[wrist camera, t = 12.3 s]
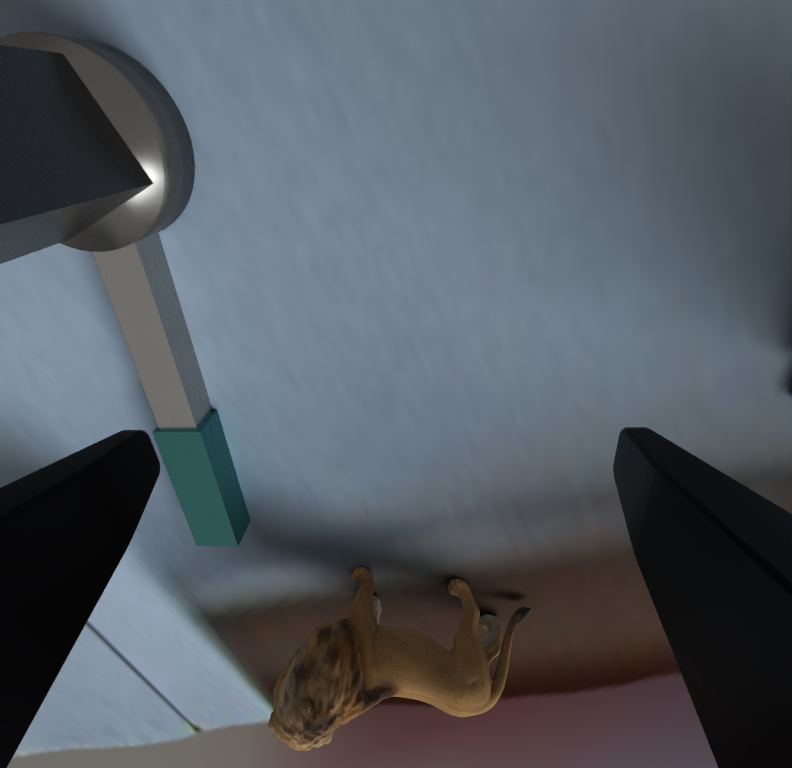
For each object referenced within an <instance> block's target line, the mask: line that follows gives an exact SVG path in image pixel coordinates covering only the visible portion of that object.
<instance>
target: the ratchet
mask: <svg viewBox="0 0 792 768" xmlns="http://www.w3.org/2000/svg"><path fill="white" fill-rule="evenodd" d="M0 45H5V46H12V47H19V48H27V49H34V50H42V51H49V52H56V53H63V54H64V55H65V57H66V58H67V60H68V61H69V63H70V64H71V66H72V67H73V68H74V70H75V71H76V73H77V74H78V76H79V77H80V78H81V80H82V81H83V83H84V84H85V86H86V87H87V88H88V90H89V91H90V93H91V94H92V96H93V97H94V99H95V100H96V101H97V103H98V104H99V106H100V107H101V109H102V110H103V111H104V113H105V114H106V116H107V117H108V119H109V120H110V122H111V123H112V124H113V126H114V127H115V129H116V130H117V132H118V133H119V134H120V136H121V137H122V139H123V140H124V142H125V143H126V144H127V146H128V147H129V149H130V150H131V152H132V153H133V155H134V156H135V157H136V159H137V160H138V162H139V163H140V165H141V166H142V167H143V169H144V170H145V172H146V173H147V175H148V176H149V178H150V179H151V180H152V182H153V183H154V184H152V185H151V186H149V187H148V188H146V189H145V190H143V191H142V192H140V193H139V194H137V195H136V196H134V197H133V198H131V199H130V200H128V201H127V202H125V203H124V204H122V205H121V206H119V207H118V208H116V209H115V210H113V211H112V212H110V213H109V214H107V215H106V216H104V217H103V218H101V219H100V220H98V221H97V222H95V223H94V224H92V225H91V226H89V227H88V228H86V229H85V230H83V231H82V232H80V233H79V234H77V235H76V236H74V237H73V238H71V239H69V240H66V241H63V242H61V244H64V245H66V246H68V247H72V248H76V249H79V250H85V251H91V252H92V254H93V256H94V259H95V262H96V264H97V267H98V270H99V272H100V275H101V278H102V280H103V283H104V285H105V288H106V291H107V293H108V296H109V299H110V301H111V304H112V307H113V309H114V312H115V314H116V317H117V320H118V322H119V325H120V328H121V330H122V333H123V336H124V338H125V341H126V343H127V346H128V349H129V351H130V354H131V357H132V359H133V362H134V364H135V367H136V370H137V372H138V375H139V378H140V380H141V383H142V386H143V388H144V391H145V393H146V396H147V399H148V401H149V404H150V407H151V409H152V412H153V415H154V417H155V420H156V422H157V425H158V427H157V428H156V429H155V430H154V431H153V435H154V437H155V440H156V442H157V445H158V448H159V450H160V453H161V455H162V458H163V460H164V463H165V466H166V468H167V471H168V473H169V476H170V478H171V481H172V484H173V486H174V489H175V491H176V494H177V496H178V499H179V502H180V504H181V507H182V509H183V512H184V514H185V517H186V520H187V522H188V525H189V527H190V530H191V532H192V535H193V537H194V540H195V543H196V545H198V546H237V547H238V545H239V543H240V541H241V539H242V537H243V535H244V533H245V531H246V529H247V526H248V524H249V522H250V518H249V515H248V511H247V508H246V505H245V501H244V498H243V495H242V491H241V488H240V485H239V481H238V478H237V475H236V471H235V468H234V465H233V461H232V458H231V455H230V451H229V448H228V445H227V441H226V438H225V435H224V431H223V428H222V425H221V421H220V418H219V415H218V411H217V410H212V406H211V403H210V400H209V397H208V393H207V390H206V387H205V384H204V380H203V377H202V374H201V370H200V367H199V364H198V361H197V357H196V354H195V351H194V348H193V344H192V341H191V338H190V334H189V331H188V328H187V325H186V321H185V318H184V315H183V312H182V308H181V305H180V302H179V298H178V295H177V292H176V289H175V285H174V282H173V279H172V276H171V272H170V269H169V266H168V262H167V259H166V256H165V253H164V249H163V246H162V243H161V240H160V236H159V233H158V232H159V231H162V230H164V229H165V228H167V227H168V226H170V225H171V224H172V223H173V222H174V221H175V220H176V219H177V218H178V217H179V216H180V215H181V213H182V212H183V211H184V209H185V207H186V205H187V203H188V201H189V199H190V196H191V193H192V189H193V184H194V175H195V163H194V153H193V147H192V142H191V139H190V135H189V132H188V129H187V126H186V124H185V122H184V119H183V117H182V115H181V113H180V111H179V109H178V107H177V106H176V104H175V102H174V101H173V99H172V98H171V96H170V95H169V93H168V92H167V90H166V89H165V88H164V87H163V86H162V84H161V83H160V82H159V81H158V80H157V79H156V78H155V77H154V76H153V75H152V74H151V73H150V72H149V71H148V70H147V69H146V68H145V67H144V66H142V65H141V64H140V63H139V62H137V61H136V60H135V59H133V58H131V57H130V56H128V55H126V54H125V53H123V52H121V51H119V50H117V49H115V48H112V47H110V46H107V45H104V44H100V43H96V42H91V41H85V40H79V39H74V38H68V37H63V36H57V35H52V34H45V33H39V32H20V33H15V34H10V35H7V36H5V37H3V38H0Z"/></svg>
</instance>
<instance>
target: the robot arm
mask: <svg viewBox="0 0 792 768" xmlns="http://www.w3.org/2000/svg"><path fill="white" fill-rule="evenodd" d="M613 472H614V478H615V482H616V486H617V490H618V494H619V498H620V501H621V505H622V509H623V513H624V517H625V521H626V525H627V528H628V532H629V536H630V540H631V543H632V547H633V550H634V554H635V556H636V559H637V562H638V565H639V567H640V570H641V572H642V575H643V578H644V580H645V583H646V585H647V588H648V590H649V593H650V595H651V598H652V600H653V603H654V605H655V608H656V611H657V613H658V616H659V618H660V621H661V623H662V626H663V628H664V631H665V633H666V636H667V639H668V641H669V644H670V646H671V649H672V651H673V654H674V656H675V659H676V661H677V664H678V666H679V669H680V672H681V674H682V677H683V679H684V681H685V684H686V687H687V689H688V692H689V694H690V697H691V699H692V702H693V705H694V707H695V710H696V712H697V715H698V717H699V720H700V722H701V725H702V727H703V730H704V732H705V735H706V737H707V740H708V743H709V745H710V748H711V750H712V753H713V755H714V758H715V760H716V763H717V766H718V768H792V514H791V513H789V512H788V511H786V510H784V509H783V508H781V507H779V506H778V505H776V504H774V503H773V502H771V501H769V500H768V499H766V498H764V497H763V496H761V495H759V494H758V493H756V492H754V491H753V490H751V489H749V488H748V487H746V486H744V485H743V484H741V483H739V482H738V481H736V480H734V479H733V478H731V477H729V476H728V475H726V474H724V473H723V472H721V471H719V470H717V469H716V468H714V467H712V466H711V465H709V464H707V463H706V462H704V461H702V460H701V459H699V458H697V457H696V456H694V455H692V454H691V453H689V452H687V451H686V450H684V449H682V448H681V447H679V446H677V445H676V444H674V443H672V442H671V441H669V440H667V439H666V438H664V437H662V436H661V435H659V434H657V433H656V432H654V431H652V430H651V429H649V428H646V427H626V428H624V429H622V430H621V432H620V435H619V439H618V444H617V449H616V454H615V460H614V466H613ZM159 473H160V462H159V459H158V457H157V454H156V452H155V449H154V447H153V444H152V442H151V439H150V437H149V435H148V434H147V433H146V432H145V431H143V430H123V431H120V432H118V433H116V434H114V435H112V436H110V437H107V438H105V439H103V440H101V441H99V442H97V443H95V444H93V445H90V446H88V447H86V448H84V449H82V450H80V451H78V452H76V453H73V454H71V455H69V456H67V457H65V458H63V459H61V460H59V461H56V462H54V463H52V464H50V465H48V466H46V467H44V468H42V469H39V470H37V471H35V472H33V473H31V474H29V475H27V476H25V477H22V478H20V479H18V480H16V481H14V482H12V483H10V484H8V485H5V486H3V487H1V488H0V768H7V766H8V764H9V763H10V761H11V759H12V757H13V755H14V753H15V752H16V750H17V748H18V746H19V744H20V743H21V741H22V739H23V737H24V735H25V733H26V732H27V730H28V728H29V726H30V724H31V722H32V721H33V719H34V717H35V715H36V713H37V712H38V710H39V708H40V706H41V704H42V702H43V701H44V699H45V697H46V695H47V693H48V692H49V690H50V688H51V686H52V684H53V682H54V681H55V679H56V677H57V675H58V673H59V671H60V670H61V668H62V666H63V664H64V662H65V661H66V659H67V657H68V655H69V653H70V651H71V650H72V648H73V646H74V644H75V642H76V640H77V639H78V637H79V635H80V633H81V631H82V630H83V628H84V626H85V624H86V622H87V620H88V619H89V617H90V615H91V613H92V611H93V610H94V608H95V606H96V604H97V602H98V600H99V599H100V597H101V595H102V593H103V591H104V589H105V588H106V586H107V584H108V582H109V580H110V579H111V577H112V575H113V573H114V571H115V569H116V568H117V566H118V564H119V562H120V560H121V558H122V557H123V555H124V553H125V551H126V549H127V547H128V545H129V543H130V541H131V539H132V537H133V535H134V533H135V530H136V528H137V526H138V523H139V521H140V519H141V516H142V514H143V512H144V509H145V507H146V505H147V502H148V500H149V497H150V495H151V493H152V490H153V488H154V486H155V483H156V481H157V479H158V476H159Z"/></svg>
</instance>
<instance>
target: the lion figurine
mask: <svg viewBox="0 0 792 768" xmlns="http://www.w3.org/2000/svg"><path fill="white" fill-rule="evenodd" d="M352 577H353V580H354V582H358V583H359V589H358V592H357V594H356V596H355V598H354V601H353V604H352V607H351V611H350V615H349V618H348V619H341V620H339V621H336V622H332V621H330V622H329V621H327V622H325V623H324V624H323V625H321V626H318V627H316V629H315V630H314V632H313V633H312V634H311V635H310V637H309V638H308V640H307V641H306V642H305V643H304V644H302V645H301V647H300V648H298V649H297V650H296V651H295V652H294V653H293V654H292V656H291V657H290V659H289V661H288V664H287V665H286V667H285V668H284V669H283V671H282V672H281V674H280V677H279V679H278V682H277V684H276V686H275V688H274V707H273V710H274V711H273V712H272V713H271V717H270V720H269V723H268V727H269V730H270V731H274V732H276V735H277V737H278V739H279V740H281V741H284V742H285V743H286V744H287V745H288V746H290V747H291V748H292V749H294V750H303V751H308V750H310V749H311V748H312V747H316V748H318V747H320V746H322V745H323V744H327V743H329V742H330V741H331V739H332V735H333V730H335V729H337V728H338V727H339V725H342V724H346V723H347V722H349V721H350V719H352V718H355V717H357V716H358V715H359V714H362V713H364V712H365V711H367V710H368V709H370V708H371V707H372V706H374V705H377V704H378V703H379V702H380V701H382V700H383V699H385V698H388V697H392V696H394V697H405V698H410V699H416V700H419V701H423V702H426V703H429V704H431V705H433V706H435V707H437V708H439V709H441V710H442V711H444V712H446V713H448V714H450V715H454V716H458V717H468V716H473V715H477V714H481V713H484V712H486V711H488V710H489V709H490V708H491V707H493V706H494V704H495V703H496V702H497V701H498V699H499V697H500V695H501V693H502V691H503V688H504V685H505V682H506V677H507V672H508V666H509V658H510V652H511V644H512V639H513V635H514V632H515V630H516V628H517V627H518V625H519V624H520V623H521V622H522V621H524V620H525V618H526V617H527V616H528V615H529V614H530V613H531V612H532V608H525V607H521V608H519V609H518V610H517V611H515V613H514V615H513V616H512V617H511V619H510V621H509V624H508V627H507V629H506V632H505V635H504V639H503V643H502V647H501V637H502V625H501V622H500V620H499V619H498V618H497V617H496V616H493V615H489V614H485V615H483V616H482V617H481V618H480V624H481V625H482V627H483V628H485V629H488V630H489V632H490V634H489V636H488V638H487V639H486V640H485V641H484V642H482V643H481V640H480V636H479V633H478V621H479V617H480V611H479V609H478V607H477V605H476V603H475V601H474V599H473V597H472V595H471V591H470V589H469V587H468V585H467V584H466V583H465V582H464V581H463V580H461V579H452V580H451V581H450V582H449V584H448V591H449V593H450V594H452V595H455V596H458V597H459V598H460V599H461V601H462V604H463V607H464V615H463V618H462V621H461V623H460V625H459V627H458V630H457V632H456V635H455V639H454V645H453V647H452V649H451V650H446V649H444V648H443V647H442V646H441V645H440V644H438V643H437V642H436V641H435V640H434V639H433V638H432V637H431V636H429V635H428V634H426V633H424V632H423V631H420V630H418V629H415V628H412V627H408V626H403V625H389V624H386V625H378V624H379V616H380V613H381V609H382V607H381V605H380V600H379V599H378V597H376V596H374V595H373V593H374V588H375V587H374V581H373V577H372V574H371V573H370V571H369V570H368V569H366V568H365V567H358V568H356V569H355V570H354V571H353V573H352ZM500 650H501V652H500ZM499 653H500V656H499V660H498V664H497V668H496V672H495V675H494V678H493V680H492V679H490V673H489V668H488V666H489V664H490V662H491V661H492V659H493V658H495V657H496V656H498V655H499Z"/></svg>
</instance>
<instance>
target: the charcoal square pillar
mask: <svg viewBox="0 0 792 768" xmlns="http://www.w3.org/2000/svg"><path fill="white" fill-rule="evenodd" d="M152 184H154V183H153V182H152V180H151V179H150V178H149V176H148V175H147V173H146V172H145V170H144V169H143V167H142V166H141V165H140V163H139V162H138V160H137V159H136V157H135V156H134V155H133V153H132V152H131V150H130V149H129V147H128V146H127V144H126V143H125V142H124V140H123V139H122V137H121V136H120V134H119V133H118V132H117V130H116V129H115V127H114V126H113V124H112V123H111V122H110V120H109V119H108V117H107V116H106V114H105V113H104V111H103V110H102V109H101V107H100V106H99V104H98V103H97V101H96V100H95V99H94V97H93V96H92V94H91V93H90V91H89V90H88V88H87V87H86V86H85V84H84V83H83V81H82V80H81V78H80V77H79V76H78V74H77V73H76V71H75V70H74V68H73V67H72V66H71V64H70V63H69V61H68V60H67V58H66V57H65V55H64V54H63V53H56V52H49V51H42V50H34V49H27V48H19V47H12V46H5V45H0V264H1V263H4V262H7V261H10V260H13V259H16V258H18V257H21V256H24V255H27V254H30V253H32V252H35V251H38V250H41V249H44V248H46V247H49V246H52V245H55V244H58V243H61V242H63V241H66V240H69V239H71V238H73V237H74V236H76V235H77V234H79V233H80V232H82V231H83V230H85V229H86V228H88V227H89V226H91V225H92V224H94V223H95V222H97V221H98V220H100V219H101V218H103V217H104V216H106V215H107V214H109V213H110V212H112V211H113V210H115V209H116V208H118V207H119V206H121V205H122V204H124V203H125V202H127V201H128V200H130V199H131V198H133V197H134V196H136V195H137V194H139V193H140V192H142V191H143V190H145V189H146V188H148V187H149V186H151V185H152Z"/></svg>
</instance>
